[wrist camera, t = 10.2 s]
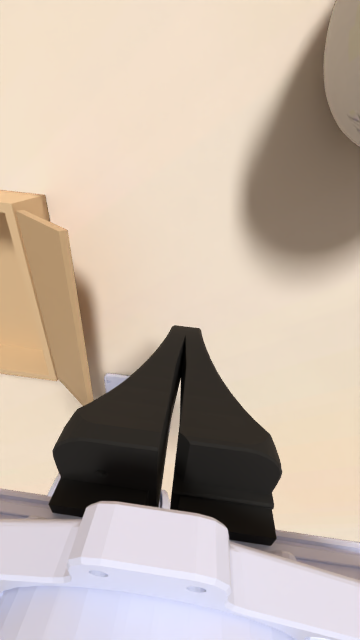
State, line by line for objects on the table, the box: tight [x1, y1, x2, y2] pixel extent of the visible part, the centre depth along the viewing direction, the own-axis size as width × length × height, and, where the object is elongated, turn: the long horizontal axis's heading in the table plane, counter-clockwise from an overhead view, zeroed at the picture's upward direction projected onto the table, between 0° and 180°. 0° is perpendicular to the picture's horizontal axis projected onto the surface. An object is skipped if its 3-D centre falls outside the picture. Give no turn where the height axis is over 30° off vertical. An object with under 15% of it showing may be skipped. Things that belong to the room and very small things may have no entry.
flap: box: [16, 210, 94, 406], centre depth 19 cm, size 15×6×1 cm
